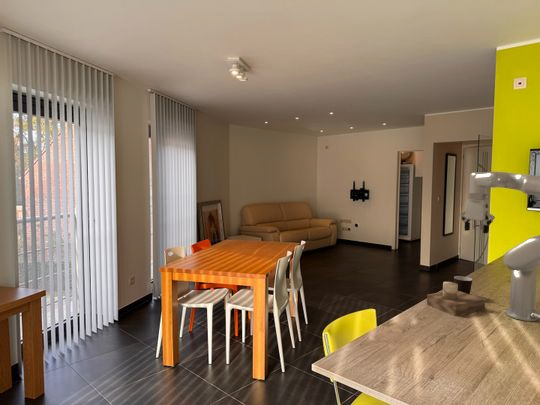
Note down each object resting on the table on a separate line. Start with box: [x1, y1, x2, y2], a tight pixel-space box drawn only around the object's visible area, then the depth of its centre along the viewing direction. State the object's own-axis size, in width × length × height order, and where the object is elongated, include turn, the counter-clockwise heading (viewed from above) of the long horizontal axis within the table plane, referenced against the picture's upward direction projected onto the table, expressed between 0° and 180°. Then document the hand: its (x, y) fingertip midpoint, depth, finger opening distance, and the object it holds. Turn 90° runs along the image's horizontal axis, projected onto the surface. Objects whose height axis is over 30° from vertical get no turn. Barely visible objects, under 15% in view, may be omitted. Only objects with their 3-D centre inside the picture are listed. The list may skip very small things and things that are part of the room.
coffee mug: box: [453, 275, 473, 295], centre depth 193 cm, size 12×9×10 cm
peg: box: [442, 281, 458, 300], centre depth 175 cm, size 6×6×11 cm
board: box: [426, 290, 486, 317], centre depth 177 cm, size 16×20×5 cm
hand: (476, 231), depth 182 cm, fingers open, 9 cm apart
